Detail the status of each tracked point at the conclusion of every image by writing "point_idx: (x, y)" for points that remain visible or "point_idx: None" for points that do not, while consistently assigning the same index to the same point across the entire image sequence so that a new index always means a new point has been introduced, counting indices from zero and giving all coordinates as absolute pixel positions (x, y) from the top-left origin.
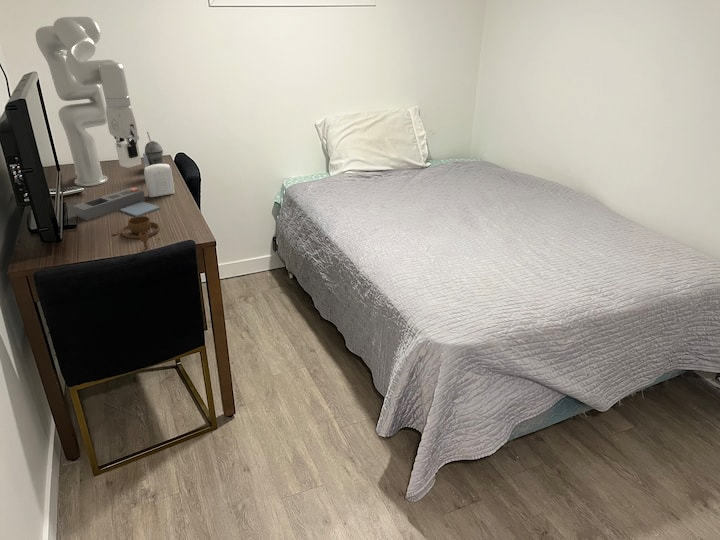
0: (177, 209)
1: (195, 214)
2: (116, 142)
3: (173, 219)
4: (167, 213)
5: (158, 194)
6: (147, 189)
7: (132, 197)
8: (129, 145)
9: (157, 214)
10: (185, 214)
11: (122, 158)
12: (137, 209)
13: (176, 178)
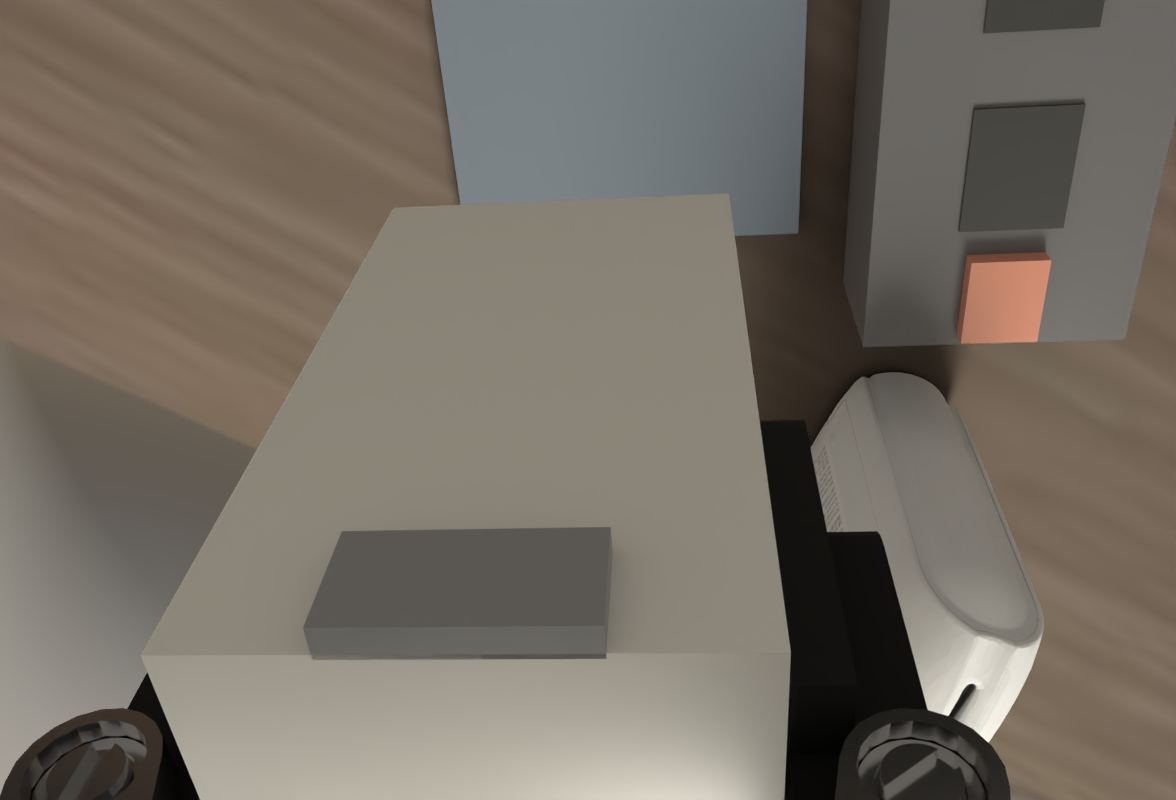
0: (307, 331)
1: (47, 353)
2: (996, 762)
3: (46, 132)
4: (269, 199)
5: (814, 451)
6: (923, 423)
7: (869, 157)
8: (52, 768)
9: (320, 109)
10: (111, 296)
11: (513, 307)
12: (606, 25)
13: (1100, 795)
